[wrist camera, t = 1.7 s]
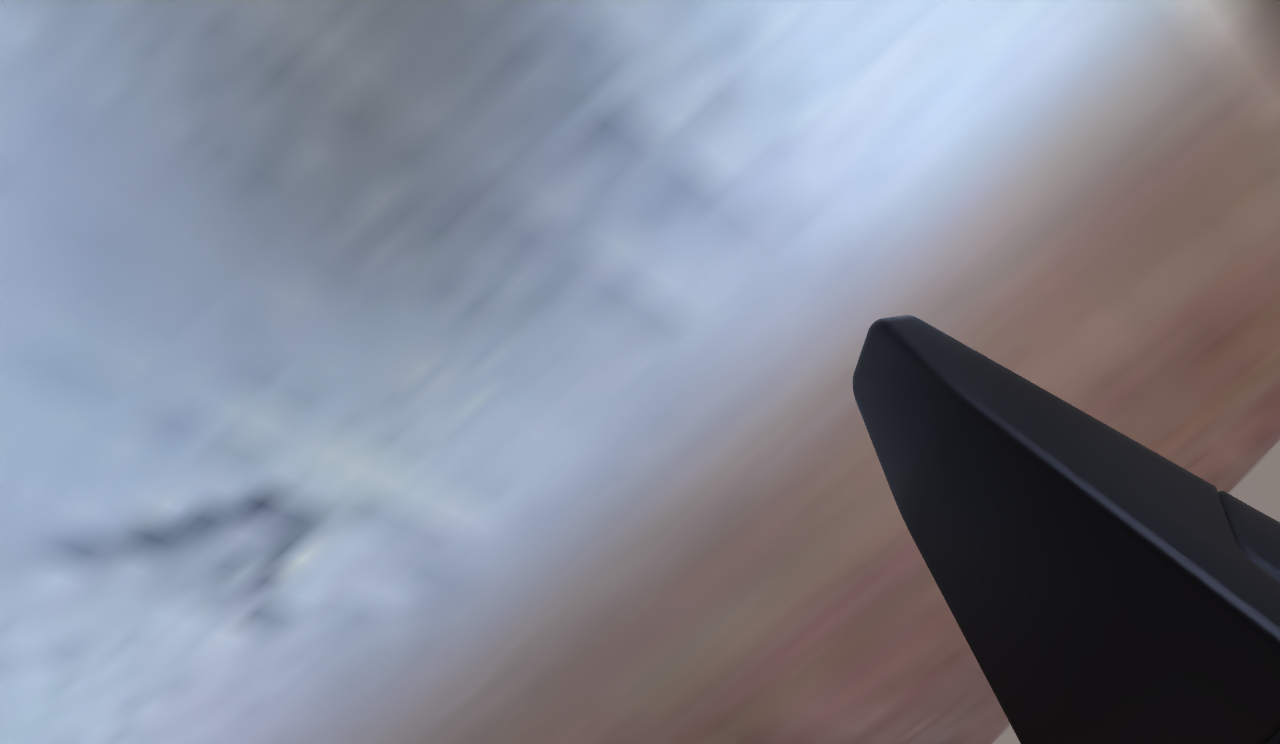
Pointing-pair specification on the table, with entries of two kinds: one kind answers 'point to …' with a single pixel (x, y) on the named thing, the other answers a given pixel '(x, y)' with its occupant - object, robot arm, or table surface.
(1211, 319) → the table surface
